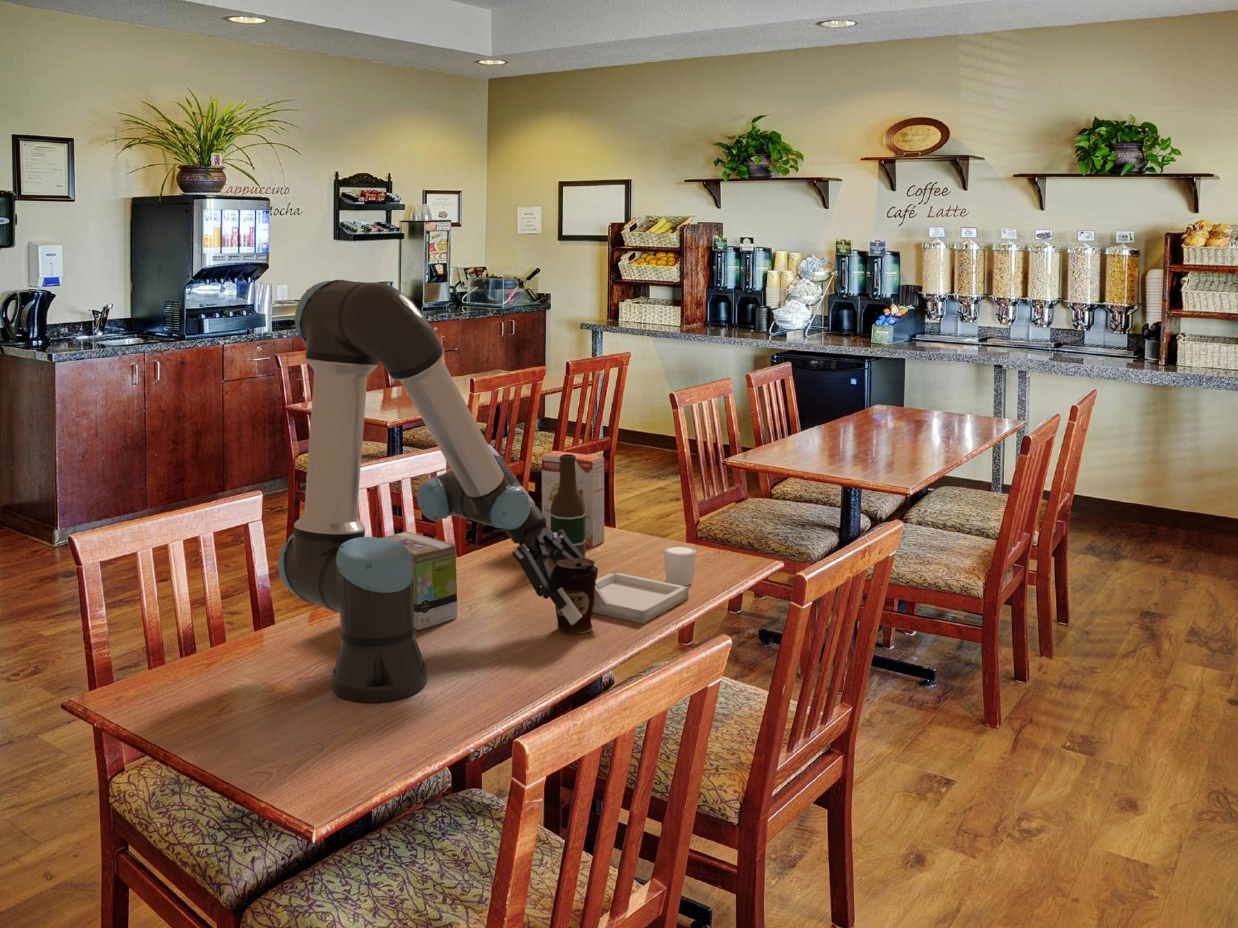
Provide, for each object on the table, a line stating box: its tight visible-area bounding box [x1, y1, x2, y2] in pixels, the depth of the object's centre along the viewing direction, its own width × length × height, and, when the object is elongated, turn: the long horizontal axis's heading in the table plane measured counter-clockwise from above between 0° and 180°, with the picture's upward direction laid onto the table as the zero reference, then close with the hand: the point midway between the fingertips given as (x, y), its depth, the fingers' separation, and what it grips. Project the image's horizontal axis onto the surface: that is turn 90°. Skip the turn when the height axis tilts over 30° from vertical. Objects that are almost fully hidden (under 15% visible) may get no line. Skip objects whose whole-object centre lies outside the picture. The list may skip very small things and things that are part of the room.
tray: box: [592, 571, 690, 625], centre depth 222 cm, size 17×18×2 cm
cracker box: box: [541, 450, 605, 549], centre depth 262 cm, size 14×6×21 cm, turn 61°
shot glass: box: [663, 545, 697, 586], centre depth 234 cm, size 7×7×7 cm
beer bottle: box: [551, 454, 587, 564], centre depth 246 cm, size 8×8×24 cm
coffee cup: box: [551, 557, 599, 635], centre depth 206 cm, size 9×8×13 cm
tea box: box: [378, 531, 458, 631], centre depth 213 cm, size 15×10×15 cm, turn 48°
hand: (590, 613), depth 205 cm, fingers closed on coffee cup, 8 cm apart
